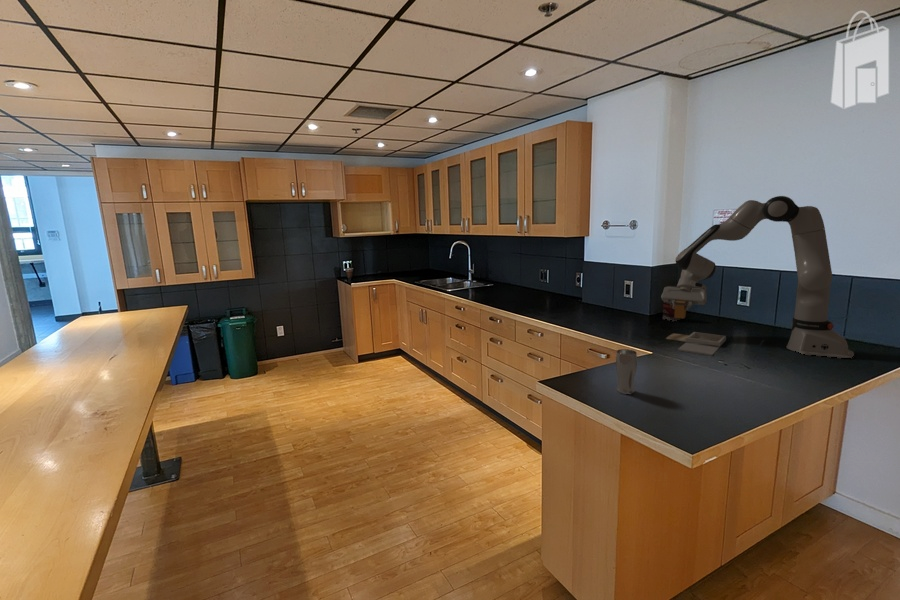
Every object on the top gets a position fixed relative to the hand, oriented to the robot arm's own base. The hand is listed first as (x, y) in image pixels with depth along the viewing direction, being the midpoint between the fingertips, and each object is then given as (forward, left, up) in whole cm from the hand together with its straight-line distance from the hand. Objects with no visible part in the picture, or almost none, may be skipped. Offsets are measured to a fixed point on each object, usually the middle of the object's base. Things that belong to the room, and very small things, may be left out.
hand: (680, 309), depth 210 cm
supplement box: (+15, -41, -16) cm, 46 cm away
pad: (0, -1, -16) cm, 16 cm away
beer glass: (-4, +80, -16) cm, 82 cm away
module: (0, -1, -4) cm, 4 cm away
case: (-12, +6, -16) cm, 21 cm away
